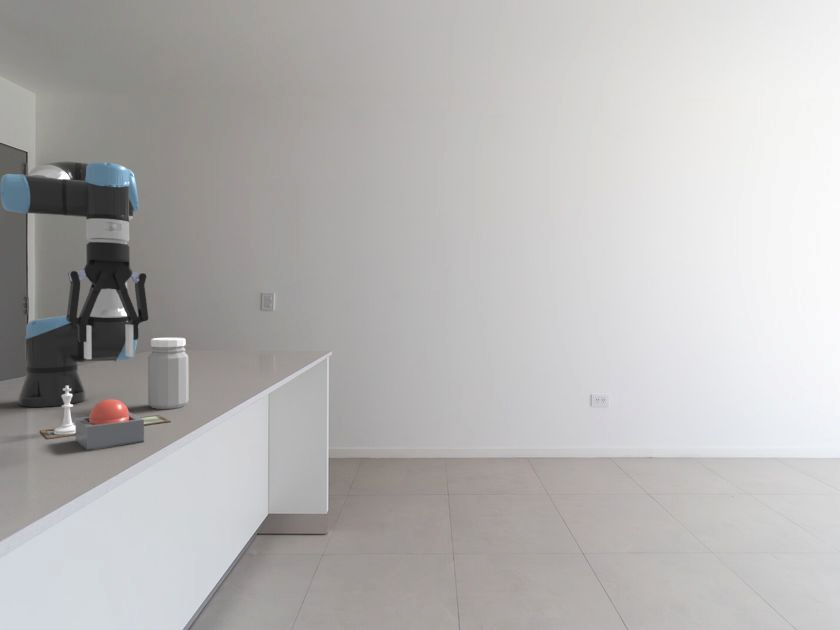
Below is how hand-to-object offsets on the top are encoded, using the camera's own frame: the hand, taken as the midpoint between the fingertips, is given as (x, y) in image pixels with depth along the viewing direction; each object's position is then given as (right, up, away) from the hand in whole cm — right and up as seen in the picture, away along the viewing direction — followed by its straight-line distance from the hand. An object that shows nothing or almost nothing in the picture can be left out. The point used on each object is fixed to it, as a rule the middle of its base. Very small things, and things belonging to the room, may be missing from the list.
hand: (109, 357), depth 112 cm
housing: (0, -17, +1) cm, 17 cm away
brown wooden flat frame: (-7, -17, +13) cm, 22 cm away
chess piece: (-13, -17, +8) cm, 23 cm away
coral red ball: (0, -16, +1) cm, 16 cm away
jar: (-4, -16, +36) cm, 40 cm away
